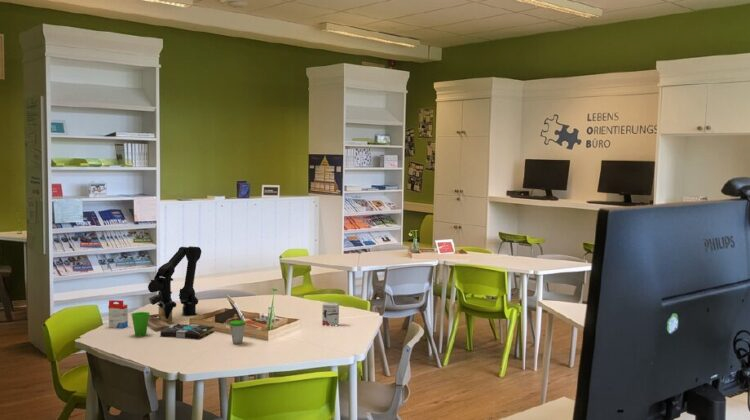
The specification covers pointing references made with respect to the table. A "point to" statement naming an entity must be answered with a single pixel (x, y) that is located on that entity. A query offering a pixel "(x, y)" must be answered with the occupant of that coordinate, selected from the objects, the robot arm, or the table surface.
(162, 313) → the wooden mallet
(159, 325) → the board
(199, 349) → the table surface
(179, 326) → the book
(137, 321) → the cup
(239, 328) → the cup
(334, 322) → the ink box
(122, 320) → the ink box
